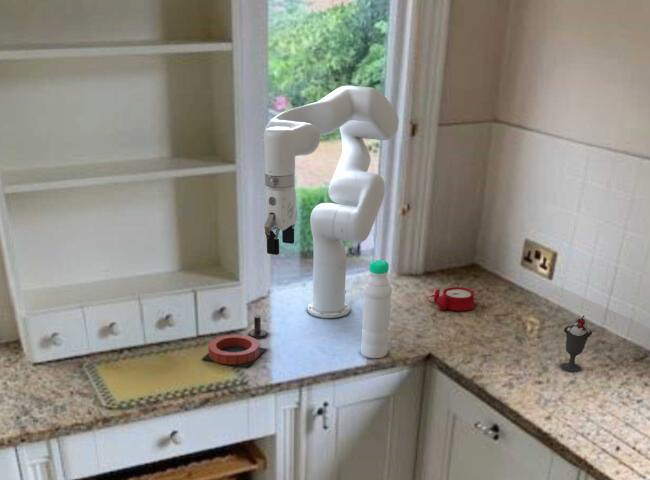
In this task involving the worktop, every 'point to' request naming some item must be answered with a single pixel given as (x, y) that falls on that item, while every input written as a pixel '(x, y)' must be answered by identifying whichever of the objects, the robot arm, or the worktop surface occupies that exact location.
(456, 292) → the alarm clock
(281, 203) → the robot arm
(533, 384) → the worktop surface
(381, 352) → the water bottle
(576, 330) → the sundae
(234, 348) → the mat
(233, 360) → the ring
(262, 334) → the peg stand
